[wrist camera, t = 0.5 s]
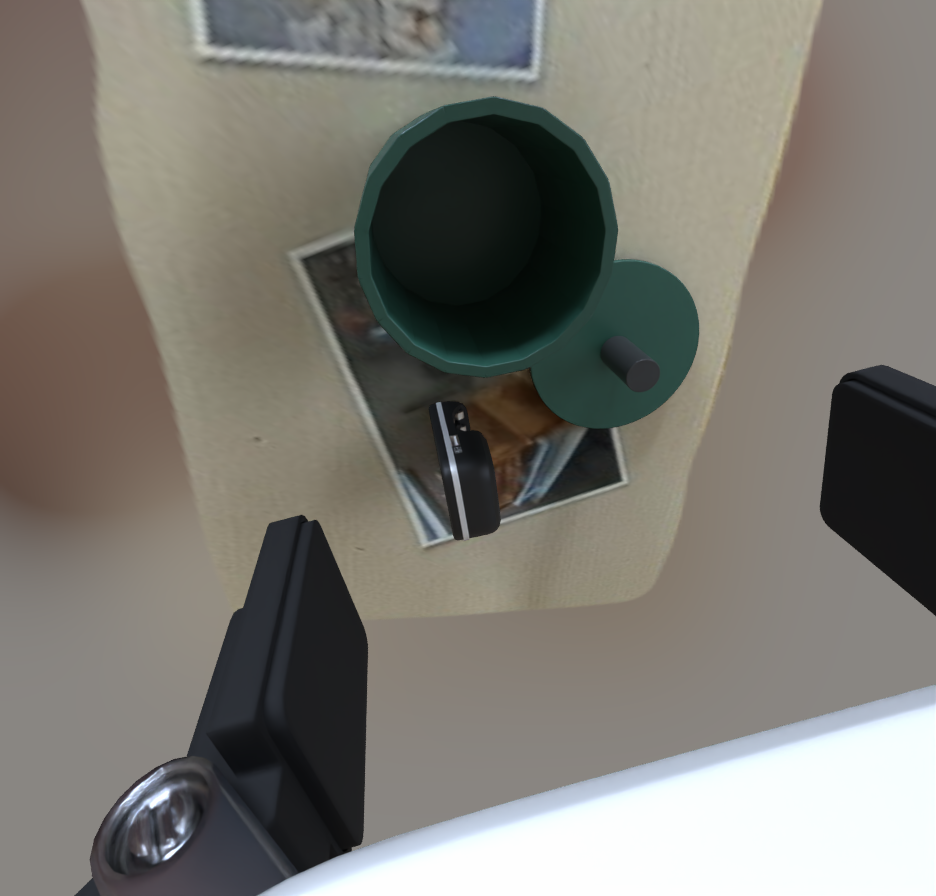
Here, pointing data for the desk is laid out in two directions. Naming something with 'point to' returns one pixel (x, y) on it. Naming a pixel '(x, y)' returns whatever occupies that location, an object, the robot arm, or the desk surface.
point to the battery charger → (465, 472)
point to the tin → (485, 236)
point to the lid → (623, 351)
